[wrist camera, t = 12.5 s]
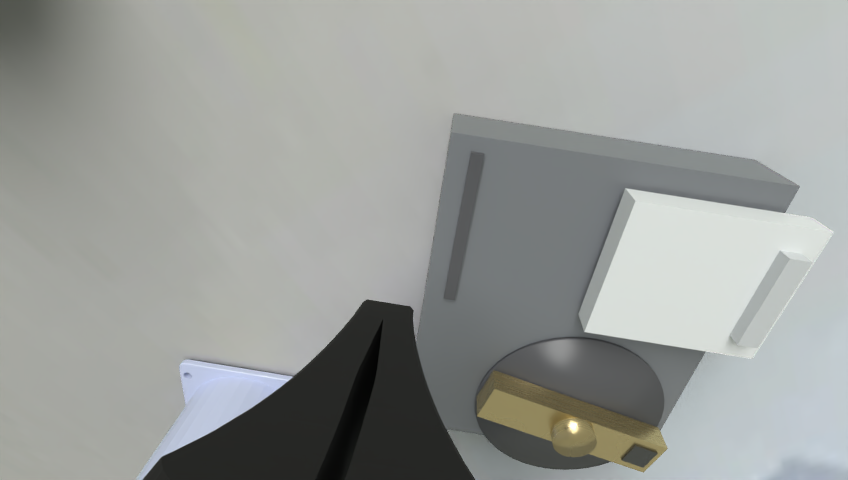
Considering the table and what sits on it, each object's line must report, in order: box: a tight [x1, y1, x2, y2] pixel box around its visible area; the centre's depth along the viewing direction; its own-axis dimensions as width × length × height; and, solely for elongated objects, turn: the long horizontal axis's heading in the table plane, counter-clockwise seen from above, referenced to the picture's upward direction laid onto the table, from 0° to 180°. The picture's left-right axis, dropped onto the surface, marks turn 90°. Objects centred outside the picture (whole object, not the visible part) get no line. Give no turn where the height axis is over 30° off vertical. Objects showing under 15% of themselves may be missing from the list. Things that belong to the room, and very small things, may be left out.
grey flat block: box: [416, 113, 800, 470], centre depth 22 cm, size 18×13×3 cm
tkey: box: [477, 370, 668, 472], centre depth 22 cm, size 9×2×2 cm, turn 69°
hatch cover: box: [578, 188, 834, 359], centre depth 18 cm, size 6×7×2 cm
